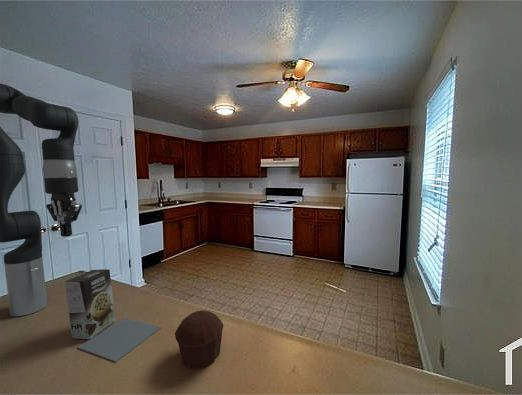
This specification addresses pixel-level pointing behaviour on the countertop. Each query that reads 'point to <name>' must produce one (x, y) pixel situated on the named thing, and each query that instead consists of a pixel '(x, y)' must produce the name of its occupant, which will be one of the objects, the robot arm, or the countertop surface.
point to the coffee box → (90, 303)
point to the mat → (119, 339)
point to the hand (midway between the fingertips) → (66, 236)
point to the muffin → (199, 339)
